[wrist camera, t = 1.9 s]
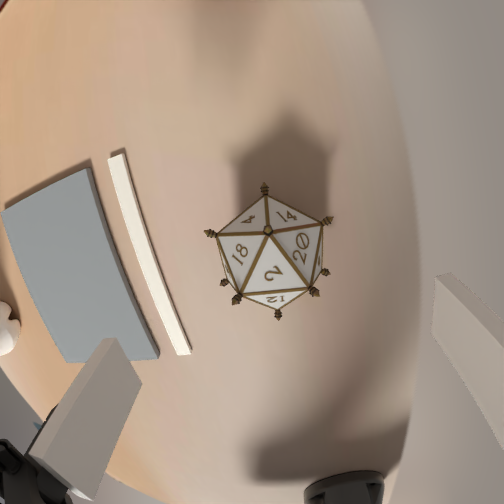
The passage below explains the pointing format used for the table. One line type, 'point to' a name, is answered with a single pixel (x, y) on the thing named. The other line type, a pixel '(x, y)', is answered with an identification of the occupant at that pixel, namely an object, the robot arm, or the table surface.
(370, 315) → the table surface
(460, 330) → the robot arm
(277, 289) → the game die
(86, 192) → the mat
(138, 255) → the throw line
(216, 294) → the table surface
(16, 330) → the water bottle
